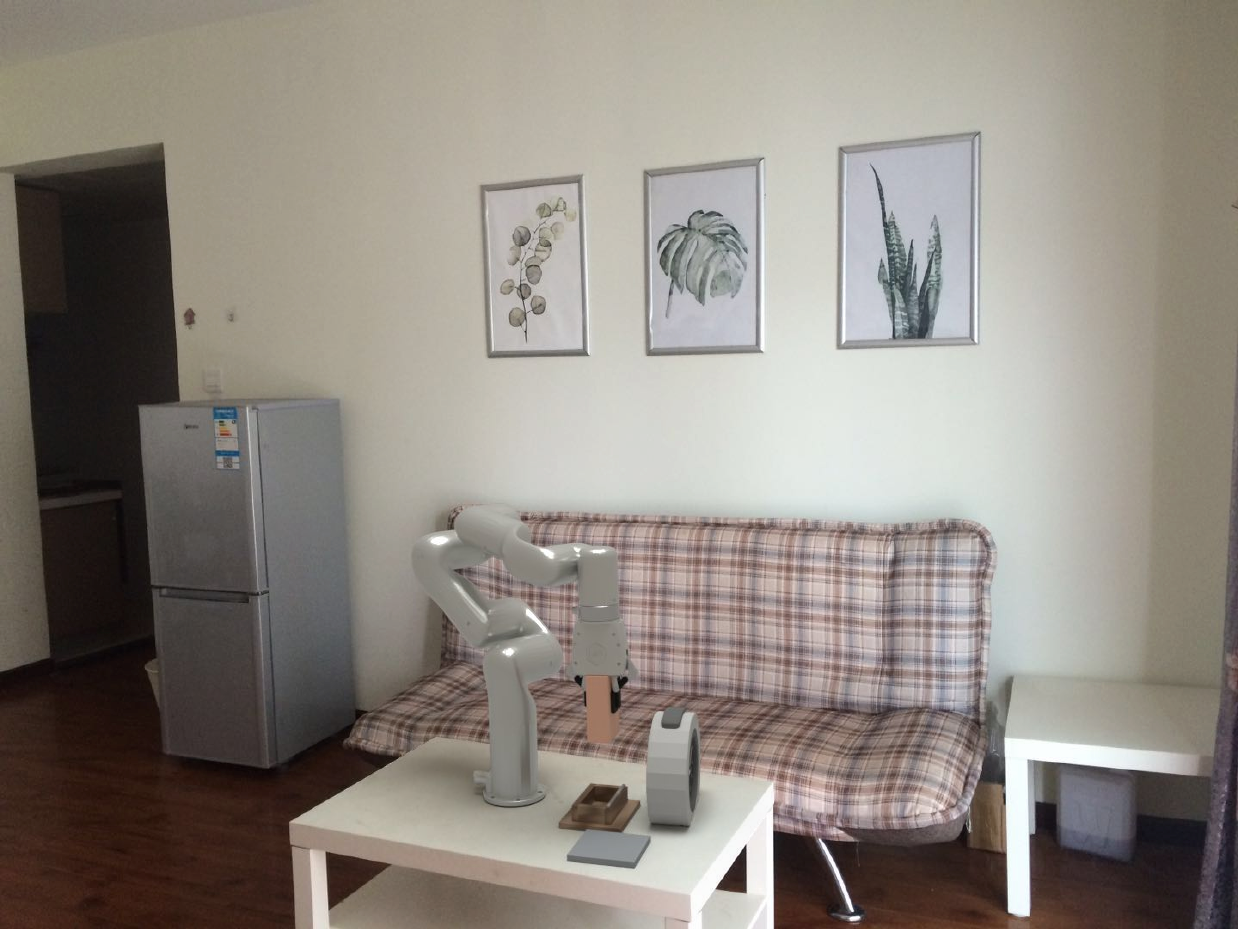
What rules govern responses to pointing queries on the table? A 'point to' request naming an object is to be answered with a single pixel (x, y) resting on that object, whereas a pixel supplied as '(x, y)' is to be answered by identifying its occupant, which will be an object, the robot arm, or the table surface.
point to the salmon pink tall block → (600, 710)
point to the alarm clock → (673, 767)
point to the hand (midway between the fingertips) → (602, 710)
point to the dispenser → (601, 809)
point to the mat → (609, 848)
